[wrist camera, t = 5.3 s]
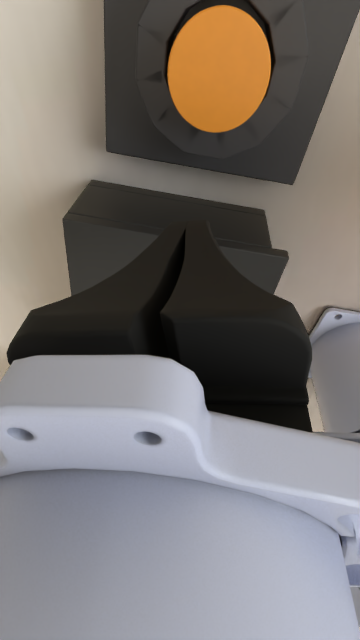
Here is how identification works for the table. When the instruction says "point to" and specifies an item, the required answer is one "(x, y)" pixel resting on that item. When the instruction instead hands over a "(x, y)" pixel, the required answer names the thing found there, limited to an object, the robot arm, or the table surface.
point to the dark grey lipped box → (171, 212)
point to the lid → (131, 240)
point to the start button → (219, 68)
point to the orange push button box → (270, 117)
